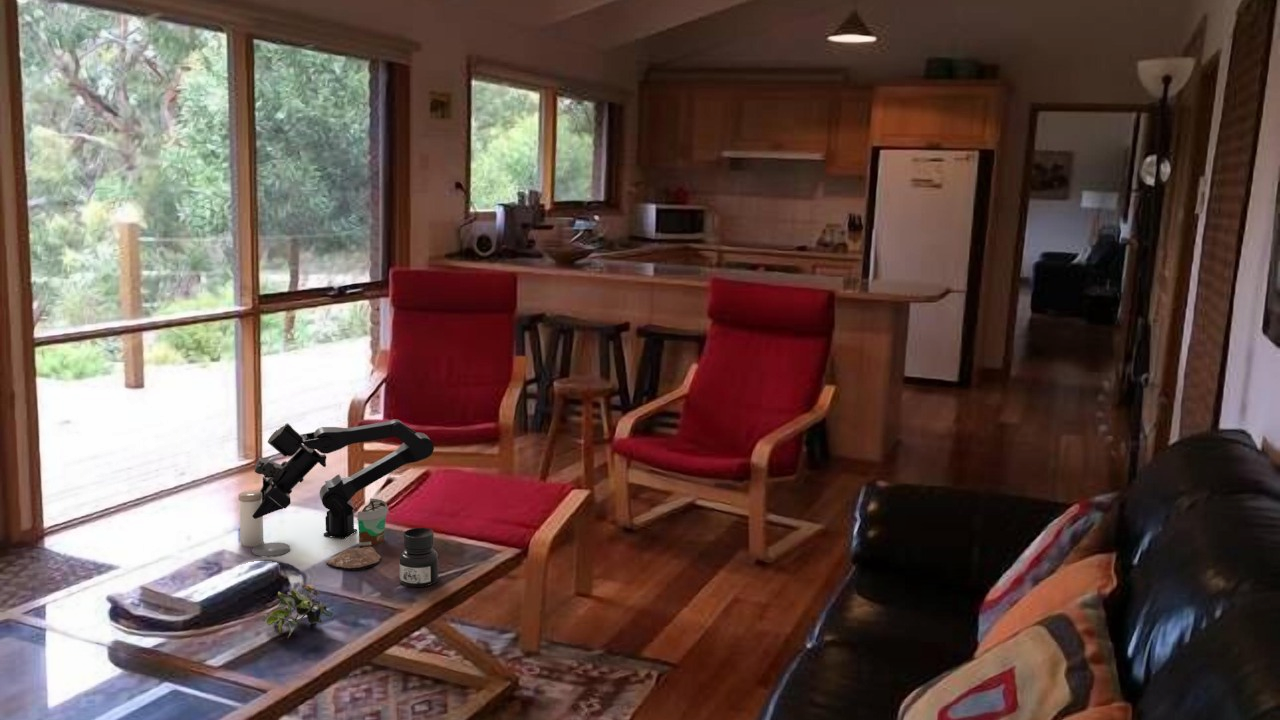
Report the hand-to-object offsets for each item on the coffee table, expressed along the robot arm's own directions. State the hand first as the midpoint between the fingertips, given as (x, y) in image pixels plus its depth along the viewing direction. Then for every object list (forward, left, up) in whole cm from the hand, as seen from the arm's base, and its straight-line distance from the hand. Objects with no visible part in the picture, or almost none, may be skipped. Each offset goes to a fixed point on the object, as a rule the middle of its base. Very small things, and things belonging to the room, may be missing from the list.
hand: (253, 512), depth 265 cm
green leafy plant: (-42, +40, -8) cm, 59 cm away
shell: (-31, +2, -9) cm, 33 cm away
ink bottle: (-52, +7, -8) cm, 53 cm away
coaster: (-8, +3, -8) cm, 12 cm away
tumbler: (0, 0, -8) cm, 8 cm away
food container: (-29, -12, -8) cm, 32 cm away
